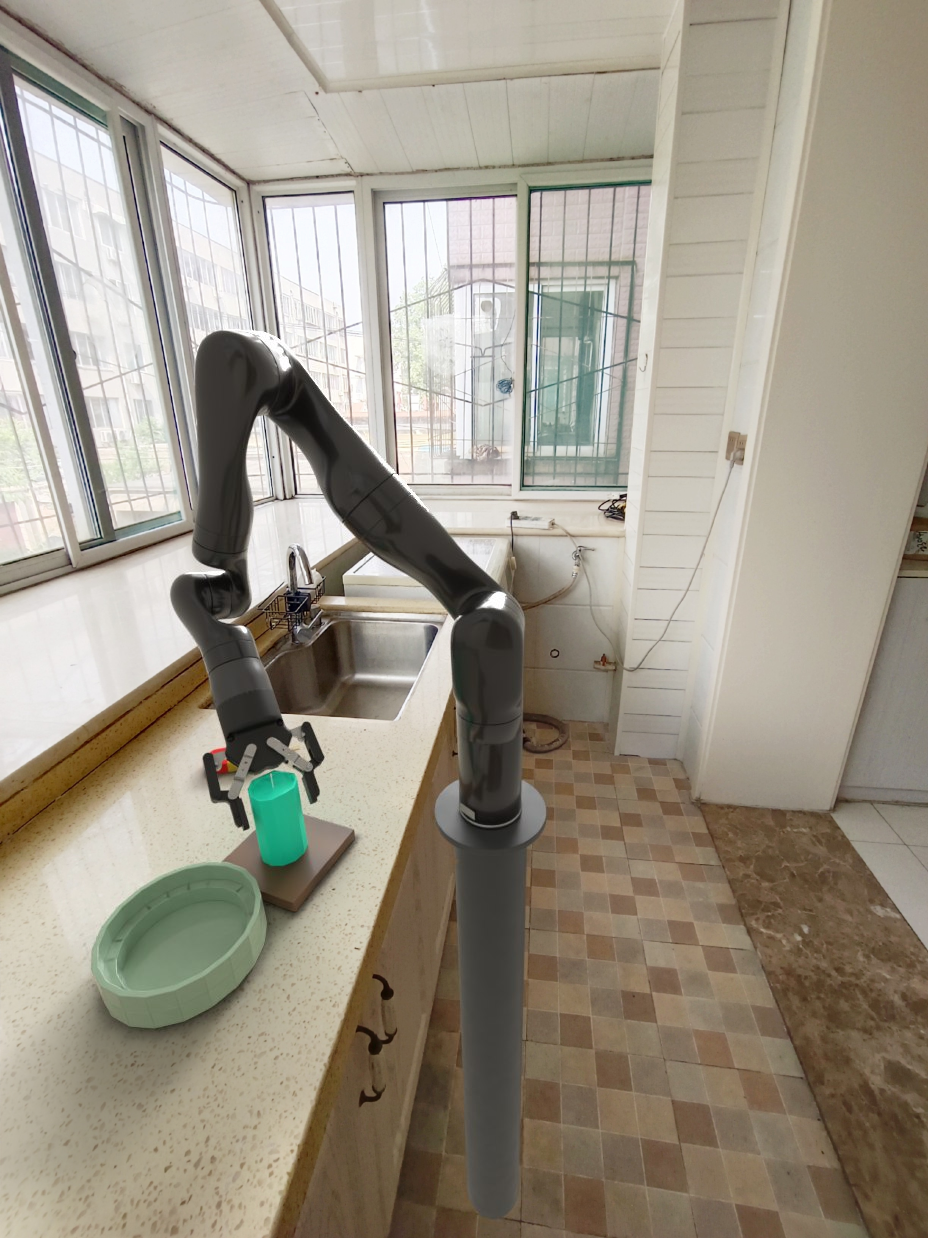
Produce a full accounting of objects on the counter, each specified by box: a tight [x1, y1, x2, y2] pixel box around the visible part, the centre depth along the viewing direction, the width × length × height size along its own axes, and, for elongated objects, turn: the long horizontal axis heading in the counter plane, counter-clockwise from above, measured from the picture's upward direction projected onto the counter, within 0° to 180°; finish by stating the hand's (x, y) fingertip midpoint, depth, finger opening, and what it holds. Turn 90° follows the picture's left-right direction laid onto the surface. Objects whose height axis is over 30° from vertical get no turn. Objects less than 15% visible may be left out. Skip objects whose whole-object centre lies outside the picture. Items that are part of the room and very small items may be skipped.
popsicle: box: [209, 745, 301, 775], centre depth 93 cm, size 6×15×2 cm, turn 105°
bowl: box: [90, 861, 268, 1029], centre depth 59 cm, size 16×16×5 cm
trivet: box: [221, 813, 356, 913], centre depth 72 cm, size 13×13×2 cm
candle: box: [247, 769, 308, 866], centre depth 70 cm, size 6×6×12 cm
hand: (281, 815), depth 68 cm, fingers open, 8 cm apart
